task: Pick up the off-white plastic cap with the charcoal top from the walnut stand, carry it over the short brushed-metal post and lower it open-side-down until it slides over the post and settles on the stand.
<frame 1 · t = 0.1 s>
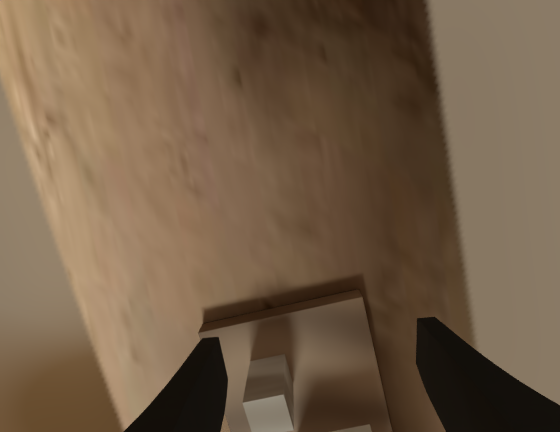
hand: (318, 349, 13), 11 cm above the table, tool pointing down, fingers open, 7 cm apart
stand: (306, 405, 25), on the table
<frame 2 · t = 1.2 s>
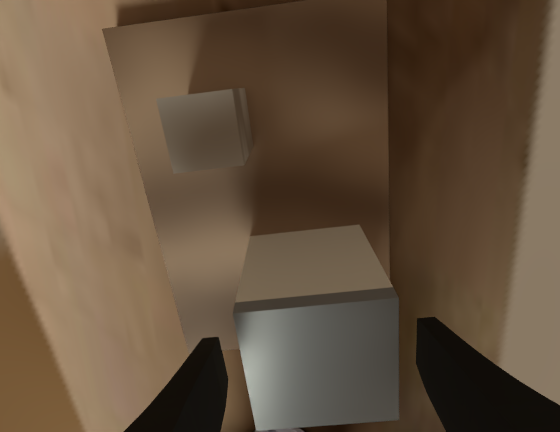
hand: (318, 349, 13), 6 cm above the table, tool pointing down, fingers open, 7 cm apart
cap: (309, 278, 17), point 1 cm above the table, touching stand
stand: (269, 198, 17), on the table
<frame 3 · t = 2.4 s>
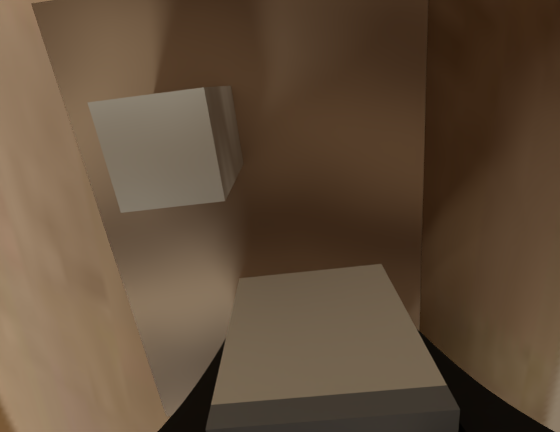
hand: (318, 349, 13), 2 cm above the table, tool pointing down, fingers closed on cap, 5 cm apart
cap: (315, 328, 14), point 1 cm above the table, touching gripper, stand
stand: (266, 227, 13), on the table
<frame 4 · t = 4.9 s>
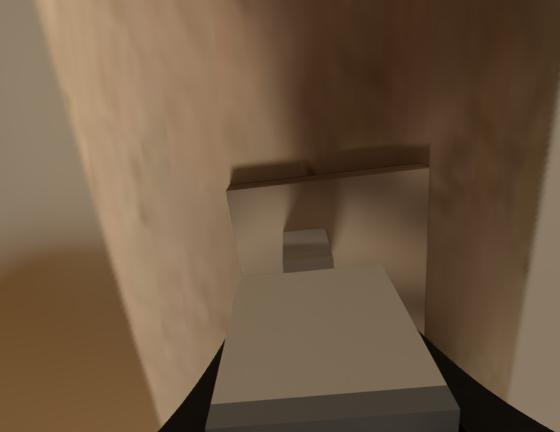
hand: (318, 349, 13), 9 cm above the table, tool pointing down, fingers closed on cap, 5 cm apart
cap: (315, 328, 14), point 8 cm above the table, touching gripper
stand: (333, 292, 23), on the table
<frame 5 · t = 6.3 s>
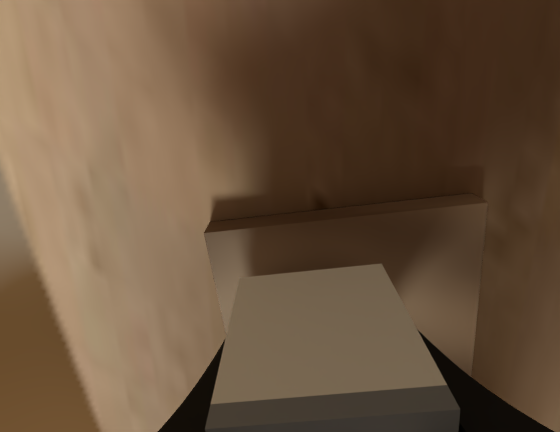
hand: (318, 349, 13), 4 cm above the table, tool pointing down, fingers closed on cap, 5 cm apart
cap: (315, 328, 14), point 3 cm above the table, touching gripper
stand: (348, 357, 17), on the table
when the fingers open (4 cm above the table, at t = 7.3 s): cap drops 1 cm, resting on stand.
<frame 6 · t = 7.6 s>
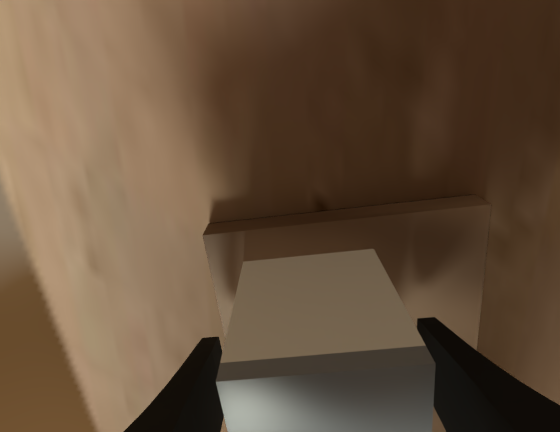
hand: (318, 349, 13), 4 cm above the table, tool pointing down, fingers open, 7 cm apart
cap: (313, 309, 15), point 1 cm above the table, touching stand
stand: (348, 360, 17), on the table
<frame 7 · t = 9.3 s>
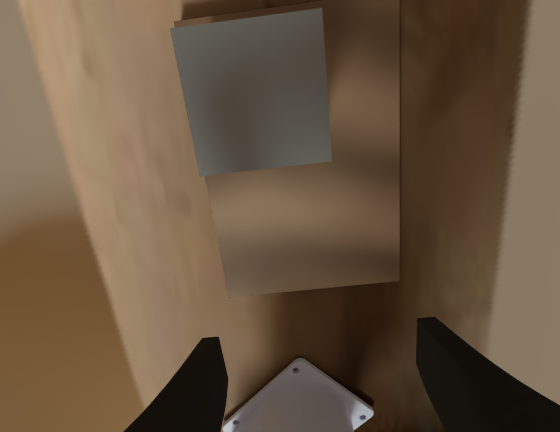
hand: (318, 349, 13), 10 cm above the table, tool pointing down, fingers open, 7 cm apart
cap: (264, 95, 18), point 1 cm above the table, touching stand
stand: (300, 163, 21), on the table
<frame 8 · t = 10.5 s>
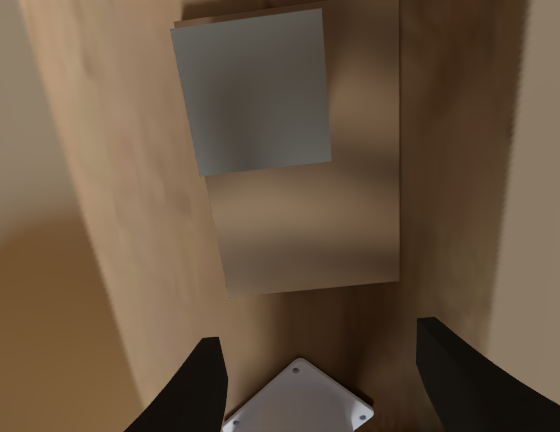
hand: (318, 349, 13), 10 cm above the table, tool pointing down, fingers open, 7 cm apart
cap: (264, 95, 18), point 1 cm above the table, touching stand
stand: (299, 163, 21), on the table
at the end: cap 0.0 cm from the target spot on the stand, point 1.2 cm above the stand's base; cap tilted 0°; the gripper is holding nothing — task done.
